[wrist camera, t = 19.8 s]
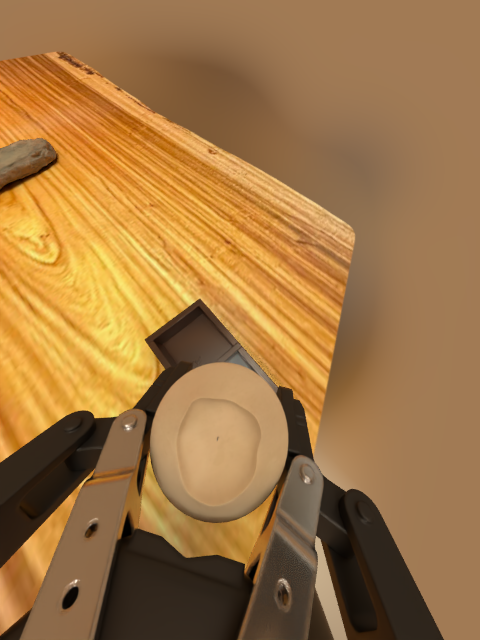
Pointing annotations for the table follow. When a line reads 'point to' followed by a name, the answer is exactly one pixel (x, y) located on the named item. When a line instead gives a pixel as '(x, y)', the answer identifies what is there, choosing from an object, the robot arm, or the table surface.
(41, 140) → the long grey stone
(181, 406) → the candle
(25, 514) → the robot arm
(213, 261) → the table surface
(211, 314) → the box
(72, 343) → the table surface
